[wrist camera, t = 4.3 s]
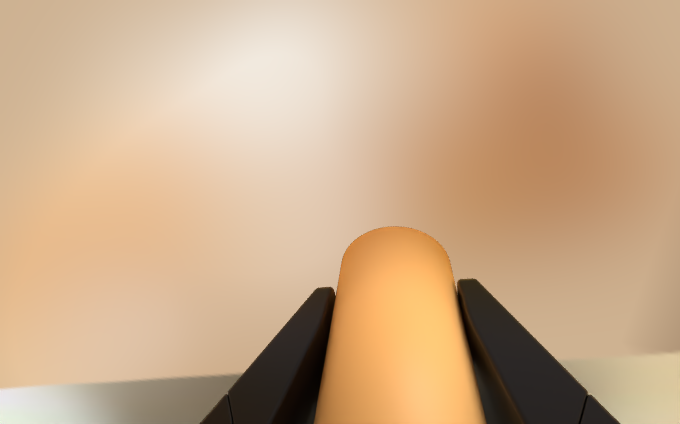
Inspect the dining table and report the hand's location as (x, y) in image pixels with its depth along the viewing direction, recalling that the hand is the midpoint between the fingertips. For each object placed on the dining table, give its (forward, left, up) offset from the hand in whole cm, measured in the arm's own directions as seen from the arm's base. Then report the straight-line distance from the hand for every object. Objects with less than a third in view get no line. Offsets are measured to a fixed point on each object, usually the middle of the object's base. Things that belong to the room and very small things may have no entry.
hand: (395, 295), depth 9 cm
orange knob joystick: (-3, -4, -1) cm, 6 cm away
